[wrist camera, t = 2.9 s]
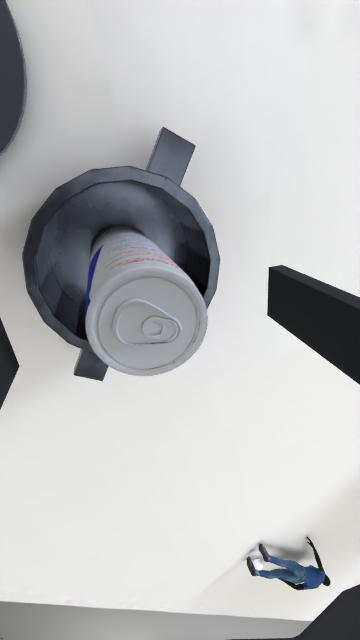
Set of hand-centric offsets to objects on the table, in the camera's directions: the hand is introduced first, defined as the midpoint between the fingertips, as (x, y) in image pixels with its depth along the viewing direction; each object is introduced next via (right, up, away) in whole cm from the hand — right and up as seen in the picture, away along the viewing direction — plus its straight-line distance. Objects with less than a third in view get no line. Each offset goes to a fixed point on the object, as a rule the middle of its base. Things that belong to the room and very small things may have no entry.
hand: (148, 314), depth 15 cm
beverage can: (-4, +5, +12) cm, 14 cm away
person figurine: (+21, -44, +42) cm, 64 cm away
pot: (-4, +5, +12) cm, 14 cm away
